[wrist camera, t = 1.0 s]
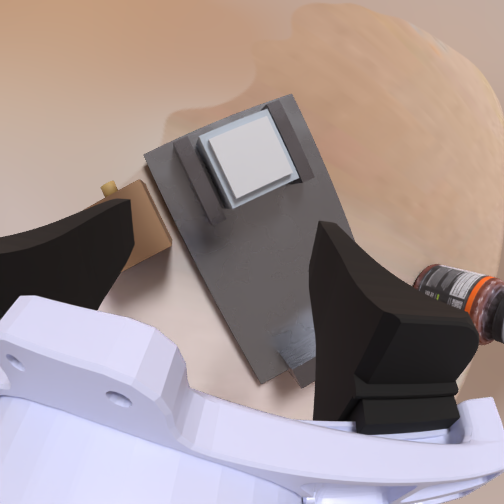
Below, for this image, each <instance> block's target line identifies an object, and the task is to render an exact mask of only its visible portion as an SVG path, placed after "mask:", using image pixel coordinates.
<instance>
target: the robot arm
mask: <svg viewBox="0 0 504 504" xmlns="http://www.w3.org/2000/svg"><path fill="white" fill-rule="evenodd" d="M134 245H135V241H134V232H133V222H132V211H131V199H120V198H116V199H112V200H108V201H105V202H103V203H100V204H98V205H95V206H93V207H90V208H88V209H86V210H83V211H81V212H79V213H76V214H74V215H71V216H69V217H66V218H64V219H61V220H59V221H56V222H54V223H51V224H48V225H45V226H42V227H39V228H36V229H33V230H29V231H26V232H22V233H18V234H14V235H10V236H5V237H0V504H440V503H445V502H448V501H452V500H455V499H458V498H462V497H464V496H466V495H468V494H470V493H471V492H473V491H475V490H476V489H478V488H480V487H481V486H483V485H485V484H486V483H488V482H489V481H491V480H493V479H494V478H496V477H497V476H499V475H500V474H502V473H503V472H504V429H503V426H502V422H501V420H500V417H499V414H498V411H497V408H496V405H495V403H494V400H493V398H492V397H486V398H478V399H470V400H466V401H463V402H461V403H459V404H458V405H457V404H456V401H455V398H454V395H456V394H457V393H458V387H457V384H456V380H457V378H458V377H459V376H460V374H461V373H462V372H463V371H464V369H465V368H466V367H467V365H468V364H469V363H470V361H471V360H472V358H473V356H474V355H475V353H476V351H477V349H478V345H479V333H478V331H477V329H476V327H475V325H474V323H473V321H472V319H471V317H470V315H469V313H468V312H466V311H464V310H461V309H459V308H456V307H454V306H451V305H448V304H446V303H443V302H441V301H439V300H437V299H435V298H433V297H431V296H428V295H426V294H425V293H423V292H421V291H419V290H417V289H415V288H414V287H412V286H410V285H409V284H407V283H405V282H404V281H402V280H401V279H399V278H398V277H396V276H395V275H393V274H392V273H391V272H389V271H388V270H386V269H385V268H384V267H382V266H381V265H380V264H379V263H377V262H376V261H375V260H374V259H373V258H372V257H371V256H369V255H368V254H367V253H366V252H365V251H364V250H363V249H362V248H361V247H360V246H359V245H358V244H357V243H356V242H354V241H353V240H352V239H351V238H350V237H349V235H348V234H347V233H346V232H345V231H344V230H343V229H341V228H340V227H339V226H338V225H337V224H336V223H333V222H326V221H319V222H318V226H317V231H316V236H315V241H314V245H313V250H312V254H311V259H310V263H309V294H310V301H311V309H312V316H313V324H314V331H315V343H316V370H315V396H314V412H313V421H312V420H294V419H289V418H285V417H281V416H278V415H274V414H270V413H267V412H263V411H260V410H256V409H253V408H249V407H246V406H243V405H240V404H236V403H233V402H230V401H227V400H224V399H221V398H218V397H215V396H212V395H209V394H206V393H203V392H201V391H198V390H195V389H192V388H190V386H189V383H188V379H187V369H186V363H185V361H184V359H183V357H182V355H181V353H180V351H179V349H178V347H177V345H176V344H175V343H174V342H173V341H171V340H170V339H169V338H168V337H166V336H165V335H164V334H163V333H161V332H160V331H159V330H158V329H157V328H155V327H153V326H151V325H148V324H145V323H143V322H140V321H138V320H135V319H132V318H129V317H124V316H119V315H115V314H110V313H105V312H101V311H97V310H98V308H99V306H100V305H101V303H102V301H103V300H104V298H105V296H106V295H107V293H108V292H109V290H110V288H111V287H112V285H113V284H114V282H115V281H116V279H117V277H118V276H119V274H120V273H121V271H122V270H123V268H124V266H125V265H126V263H127V261H128V259H129V257H130V255H131V252H132V250H133V248H134Z"/></svg>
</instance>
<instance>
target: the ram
mask: <svg viewBox="0 0 504 504" xmlns="http://www.w3.org/2000/svg"><path fill="white" fill-rule="evenodd" d="M196 146H197V148H198V150H199V152H200V154H201V157H202V159H203V161H204V163H205V165H206V167H207V169H208V171H209V174H210V176H211V178H212V180H213V182H214V184H215V186H216V188H217V191H218V193H219V195H220V197H221V199H222V201H223V203H224V205H225V208H226V209H234V208H236V207H238V206H240V205H242V204H244V203H246V202H248V201H250V200H253V199H255V198H257V197H259V196H261V195H263V194H265V193H267V192H269V191H272V190H274V189H276V188H278V187H280V186H282V185H285V184H287V183H289V182H291V181H293V180H295V179H298V178H299V176H298V174H297V171H296V169H295V167H294V165H293V162H292V160H291V158H290V156H289V154H288V151H287V149H286V147H285V145H284V143H283V140H282V138H281V136H280V134H279V132H278V130H277V128H276V126H275V123H274V121H273V119H272V117H271V115H270V113H269V111H268V109H265V110H262V111H260V112H257V113H254V114H252V115H249V116H246V117H244V118H241V119H239V120H236V121H234V122H231V123H229V124H226V125H224V126H221V127H219V128H217V129H214V130H212V131H210V132H207V133H205V134H203V135H200V136H199V137H198V140H197V143H196Z"/></svg>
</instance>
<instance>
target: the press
mask: <svg viewBox="0 0 504 504" xmlns="http://www.w3.org/2000/svg"><path fill="white" fill-rule="evenodd" d="M265 109H268V111H269V113H270V115H271V117H272V119H273V121H274V123H275V126H276V128H277V130H278V132H279V134H280V136H281V138H282V140H283V143H284V145H285V147H286V149H287V151H288V154H289V156H290V158H291V160H292V162H293V165H294V167H295V169H296V171H297V174H298V176H299V178H298V179H295V180H293V181H291V182H289V183H287V184H285V185H282V186H280V187H278V188H276V189H274V190H272V191H269V192H267V193H265V194H263V195H261V196H259V197H257V198H255V199H253V200H250V201H248V202H246V203H244V204H242V205H240V206H238V207H236V208H234V209H226V208H225V205H224V203H223V201H222V199H221V197H220V195H219V193H218V191H217V188H216V186H215V184H214V182H213V180H212V178H211V176H210V174H209V171H208V169H207V167H206V165H205V163H204V161H203V159H202V157H201V154H200V152H199V150H198V148H197V146H196V143H197V140H198V137H199V136H200V135H203V134H205V133H207V132H210V131H212V130H214V129H217V128H219V127H221V126H224V125H226V124H229V123H231V122H234V121H236V120H239V119H241V118H244V117H246V116H249V115H252V114H254V113H257V112H260V111H262V110H265ZM144 157H145V160H146V162H147V164H148V166H149V168H150V171H151V173H152V175H153V177H154V179H155V181H156V184H157V186H158V188H159V190H160V192H161V194H162V196H163V198H164V200H165V203H166V205H167V207H168V209H169V211H170V213H171V215H172V217H173V219H174V221H175V223H176V225H177V227H178V229H179V231H180V233H181V235H182V237H183V239H184V241H185V243H186V245H187V247H188V249H189V251H190V253H191V255H192V257H193V259H194V261H195V263H196V265H197V267H198V269H199V271H200V273H201V275H202V277H203V279H204V281H205V283H206V285H207V286H208V288H209V290H210V292H211V294H212V296H213V298H214V300H215V302H216V303H217V305H218V307H219V309H220V311H221V313H222V315H223V317H224V318H225V320H226V322H227V324H228V326H229V328H230V329H231V331H232V333H233V335H234V337H235V338H236V340H237V342H238V344H239V346H240V347H241V349H242V351H243V353H244V355H245V356H246V358H247V360H248V362H249V363H250V365H251V367H252V369H253V370H254V372H255V374H256V376H257V377H258V379H259V381H260V383H261V384H262V383H264V382H266V381H268V380H270V379H272V378H274V377H276V376H277V375H279V374H281V373H283V372H285V371H287V370H288V371H289V372H290V374H291V375H292V376H293V378H294V379H295V380H296V382H297V383H298V384H299V386H300V387H301V388H304V387H305V386H307V385H309V384H310V383H312V382H314V381H315V370H316V343H315V331H314V324H313V316H312V309H311V301H310V294H309V263H310V259H311V254H312V250H313V245H314V241H315V236H316V231H317V226H318V222H319V221H326V222H333V223H336V224H337V225H338V226H339V227H340V228H341V229H343V230H344V231H345V232H346V233H347V234H348V235H349V237H350V238H351V239H352V240H353V241H354V242H355V240H354V238H353V235H352V232H351V229H350V227H349V224H348V221H347V219H346V216H345V214H344V211H343V208H342V206H341V203H340V201H339V198H338V196H337V193H336V191H335V188H334V186H333V183H332V181H331V179H330V176H329V174H328V171H327V169H326V167H325V164H324V162H323V160H322V157H321V155H320V153H319V151H318V148H317V146H316V144H315V142H314V139H313V137H312V135H311V133H310V131H309V128H308V126H307V124H306V122H305V120H304V118H303V116H302V114H301V111H300V109H299V107H298V105H297V103H296V101H295V99H294V97H293V95H292V94H289V95H286V96H283V97H280V98H277V99H275V100H272V101H269V102H266V103H263V104H260V105H258V106H255V107H252V108H250V109H247V110H244V111H242V112H239V113H236V114H234V115H231V116H229V117H226V118H224V119H221V120H219V121H216V122H214V123H212V124H209V125H207V126H205V127H202V128H200V129H198V130H195V131H193V132H191V133H188V134H186V135H184V136H182V137H180V138H177V139H175V140H173V141H171V142H169V143H167V144H165V145H162V146H160V147H158V148H156V149H154V150H152V151H150V152H148V153H146V154H144Z"/></svg>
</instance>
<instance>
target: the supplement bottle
mask: <svg viewBox="0 0 504 504" xmlns="http://www.w3.org/2000/svg"><path fill="white" fill-rule="evenodd" d="M414 288H415V289H417V290H419V291H421V292H423V293H425V294H426V295H428V296H431V297H433V298H435V299H437V300H439V301H441V302H443V303H446V304H448V305H451V306H454V307H456V308H459V309H461V310H464V311H466V312H468V313H469V315H470V317H471V319H472V321H473V323H474V325H475V327H476V329H477V331H478V333H479V345H486V344H489V343H491V342H492V341H493V340H496V341H499V342H501V343H503V344H504V282H503V281H502V280H500V279H498V278H495V277H490V276H488V275H483V274H479V273H475V272H471V271H467V270H462V269H458V268H454V267H450V266H445V265H439V264H434V265H430V266H428V267H427V268H425V269H424V270H423V271H422V272H421V273H420V275H419V276H418V277H417V280H416V282H415V284H414Z"/></svg>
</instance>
